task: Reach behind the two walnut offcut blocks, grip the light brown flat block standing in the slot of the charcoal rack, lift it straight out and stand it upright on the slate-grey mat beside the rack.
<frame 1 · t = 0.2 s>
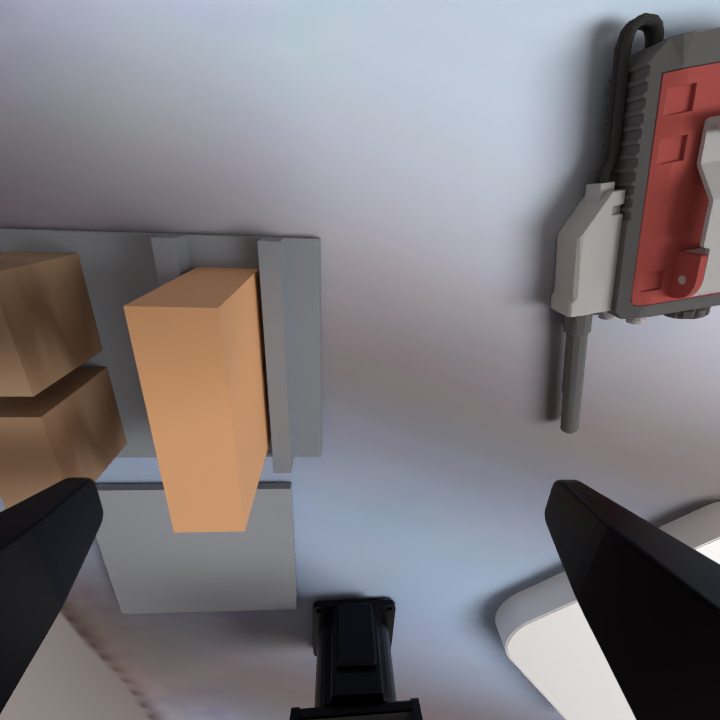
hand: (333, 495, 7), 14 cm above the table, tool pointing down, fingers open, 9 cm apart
light brown flat block: (238, 360, 21), resting on rack
rack: (185, 356, 21), on the table
offcut 2: (90, 407, 21), resting on rack
mat: (202, 548, 27), on the table
white plate: (642, 614, 34), on the table
offcut 1: (60, 303, 19), resting on rack
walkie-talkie: (625, 255, 21), on the table
when the fingers open (4 cm above the table, at t = 7.6 s): light brown flat block drops 1 cm, resting on mat.
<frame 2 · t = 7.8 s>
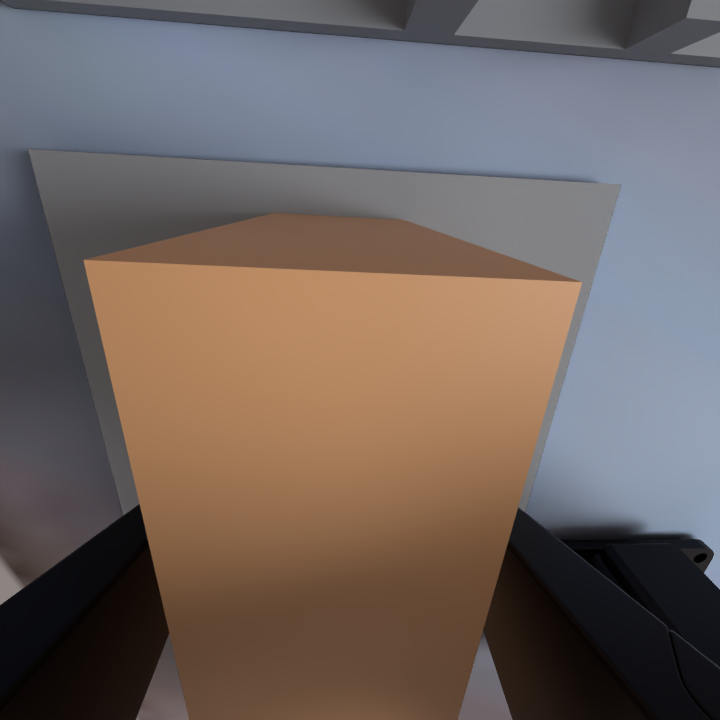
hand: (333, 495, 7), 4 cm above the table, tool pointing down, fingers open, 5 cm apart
light brown flat block: (334, 405, 11), point 1 cm above the table, touching mat
mat: (334, 395, 11), on the table
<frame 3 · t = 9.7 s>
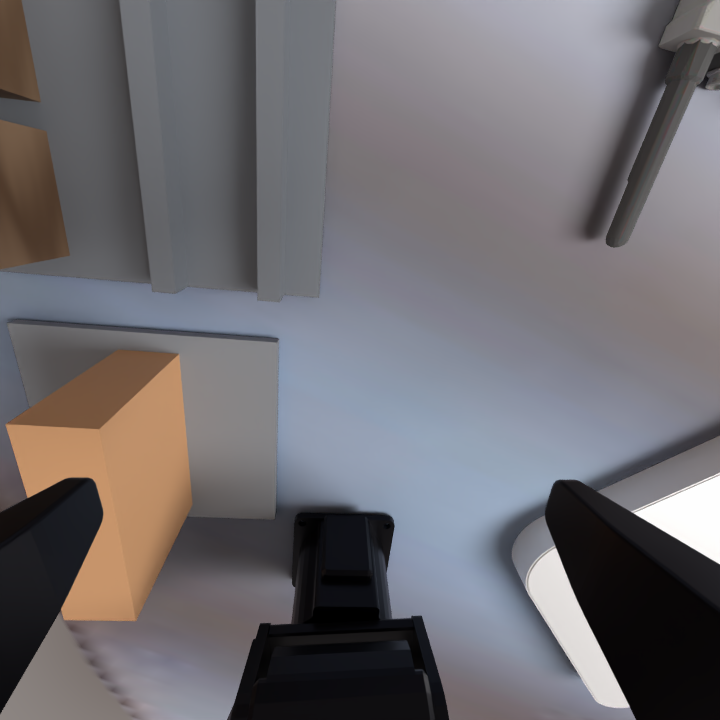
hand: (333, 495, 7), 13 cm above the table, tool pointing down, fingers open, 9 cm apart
light brown flat block: (158, 434, 21), point 1 cm above the table, touching mat
rack: (151, 130, 16), on the table
offcut 2: (22, 193, 16), resting on rack
mat: (163, 428, 22), on the table
white plate: (678, 558, 29), on the table
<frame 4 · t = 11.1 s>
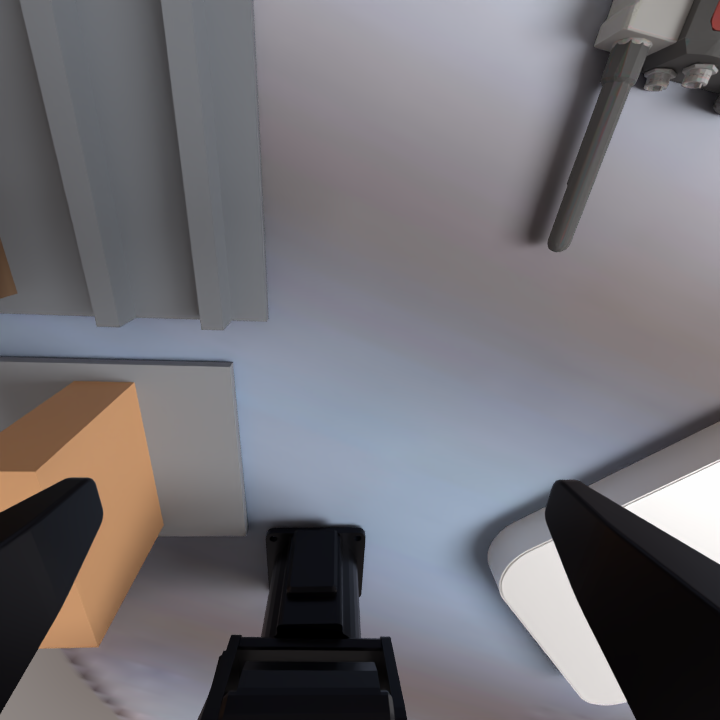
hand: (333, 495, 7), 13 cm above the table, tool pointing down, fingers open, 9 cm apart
light brown flat block: (123, 459, 22), point 1 cm above the table, touching mat
rack: (85, 168, 16), on the table
mat: (128, 453, 22), on the table
white plate: (658, 557, 29), on the table
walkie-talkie: (698, 18, 16), on the table
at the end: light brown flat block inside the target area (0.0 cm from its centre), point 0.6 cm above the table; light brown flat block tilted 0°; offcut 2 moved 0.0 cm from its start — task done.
